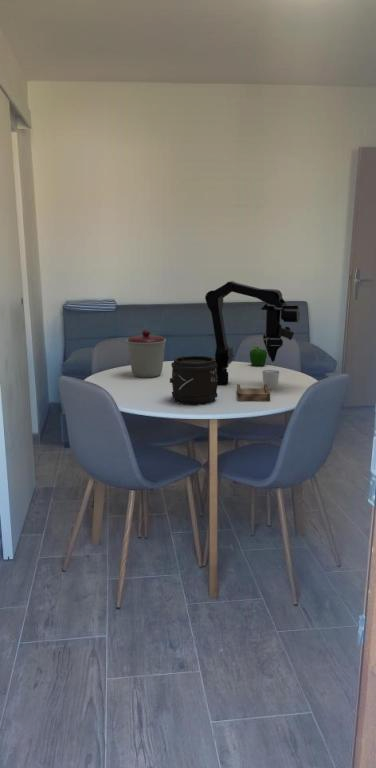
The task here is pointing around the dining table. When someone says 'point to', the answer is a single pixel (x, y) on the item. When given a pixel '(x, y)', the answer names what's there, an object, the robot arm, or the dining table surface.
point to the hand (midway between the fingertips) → (271, 359)
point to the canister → (146, 354)
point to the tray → (253, 394)
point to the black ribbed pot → (194, 380)
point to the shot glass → (270, 379)
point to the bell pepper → (258, 356)
